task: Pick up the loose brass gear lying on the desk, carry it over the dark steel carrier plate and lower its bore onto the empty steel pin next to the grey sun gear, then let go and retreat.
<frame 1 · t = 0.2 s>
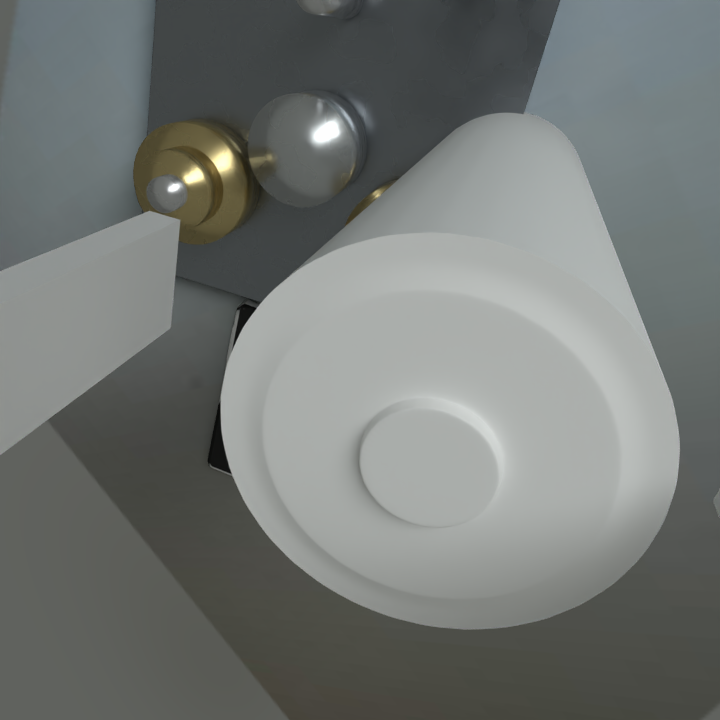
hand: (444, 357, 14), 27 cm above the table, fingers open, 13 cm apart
cylinder container: (502, 192, 40), on the table, touching carrier
smartphone: (275, 399, 50), on the table
carrier: (325, 141, 40), on the table
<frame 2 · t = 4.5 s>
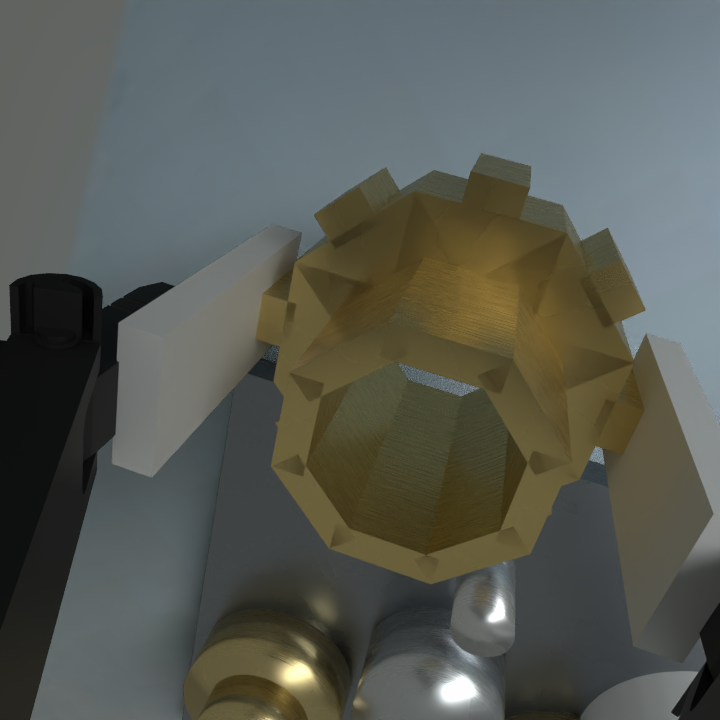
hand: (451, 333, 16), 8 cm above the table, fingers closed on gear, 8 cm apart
cylinder container: (680, 710, 30), on the table, touching carrier
gear: (453, 329, 16), point 8 cm above the table, touching gripper
carrier: (439, 634, 30), on the table
when the fingers open (3 cm above the table, at t = 7.9 s): gear drops 1 cm, resting on carrier.
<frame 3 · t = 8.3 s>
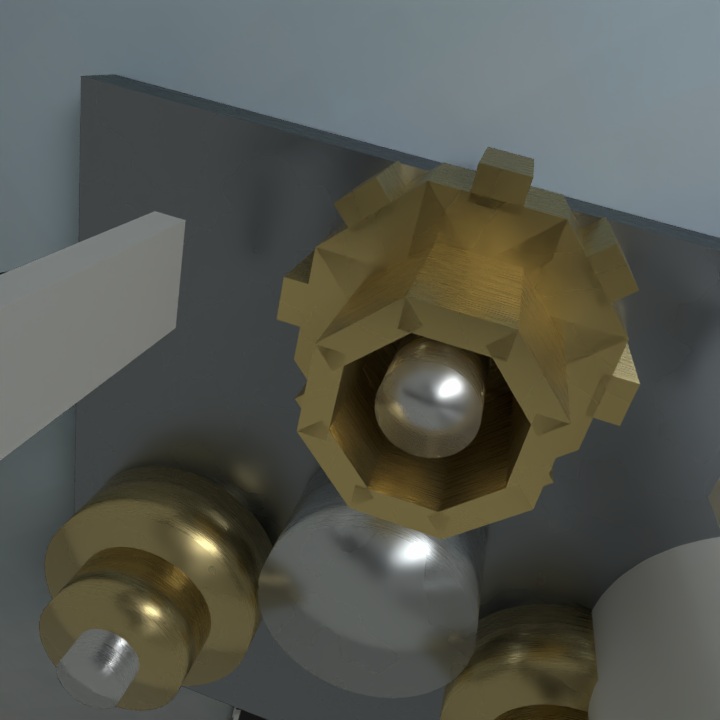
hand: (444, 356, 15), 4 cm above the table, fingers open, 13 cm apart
gear: (460, 311, 17), point 1 cm above the table, touching carrier
carrier: (398, 504, 22), on the table
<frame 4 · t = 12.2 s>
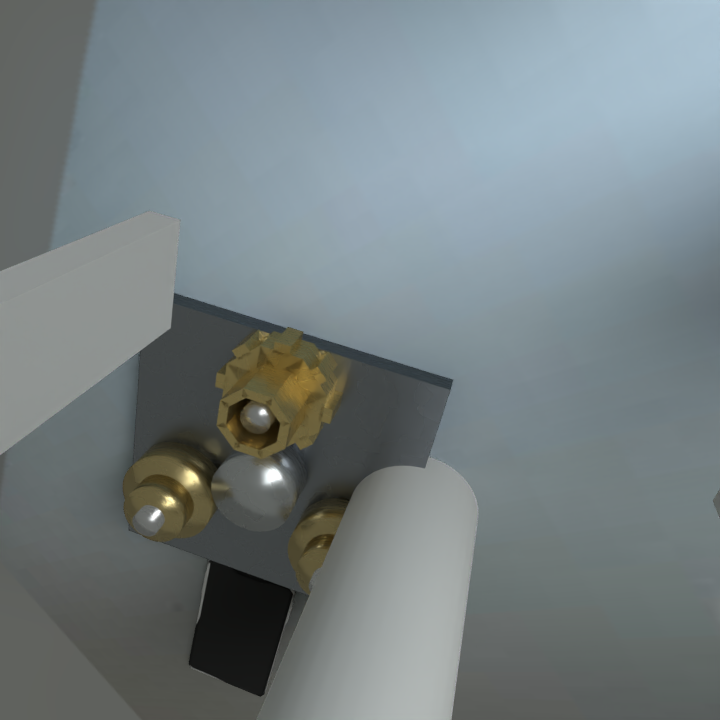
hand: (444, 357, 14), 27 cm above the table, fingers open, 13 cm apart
cylinder container: (416, 502, 50), on the table, touching carrier
gear: (285, 381, 46), point 1 cm above the table, touching carrier
smartphone: (243, 620, 60), on the table
carrier: (275, 458, 51), on the table
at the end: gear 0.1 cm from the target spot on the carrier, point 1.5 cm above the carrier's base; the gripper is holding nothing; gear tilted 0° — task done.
